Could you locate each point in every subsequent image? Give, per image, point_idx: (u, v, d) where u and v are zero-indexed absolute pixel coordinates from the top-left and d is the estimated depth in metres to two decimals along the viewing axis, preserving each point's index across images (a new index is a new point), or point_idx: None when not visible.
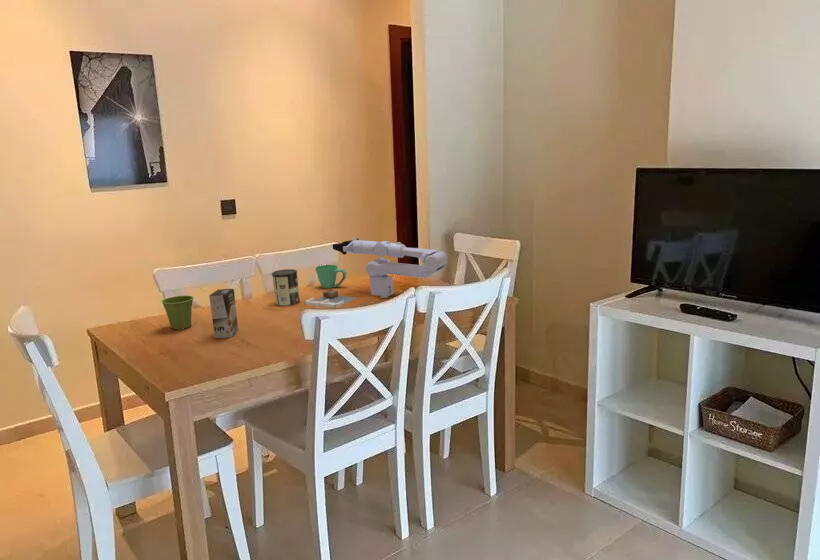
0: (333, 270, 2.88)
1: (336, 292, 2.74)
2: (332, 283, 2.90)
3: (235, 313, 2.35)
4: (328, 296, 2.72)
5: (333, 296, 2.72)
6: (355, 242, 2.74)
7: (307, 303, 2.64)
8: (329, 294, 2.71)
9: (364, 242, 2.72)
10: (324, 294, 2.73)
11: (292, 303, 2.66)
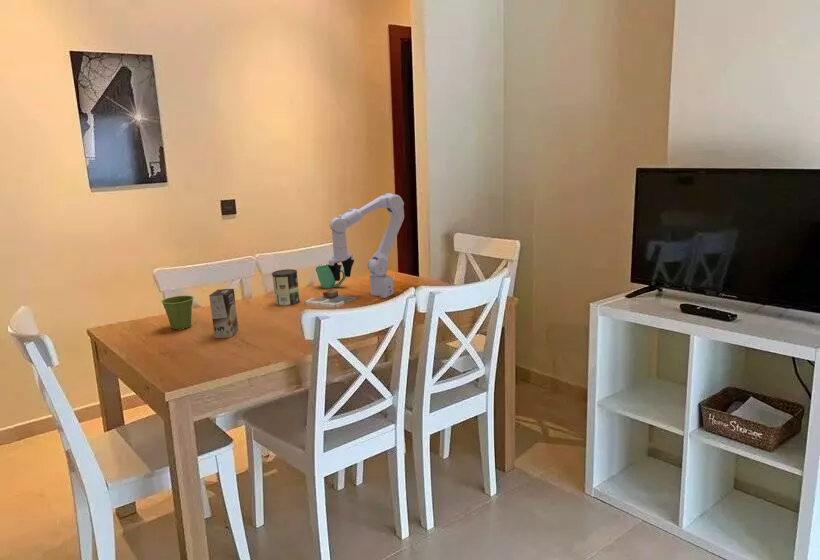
0: None
1: (336, 292, 2.74)
2: (332, 283, 2.90)
3: (235, 313, 2.35)
4: (328, 296, 2.72)
5: (333, 296, 2.72)
6: None
7: (307, 303, 2.64)
8: (329, 294, 2.71)
9: (334, 245, 2.63)
10: (324, 294, 2.73)
11: (292, 303, 2.66)
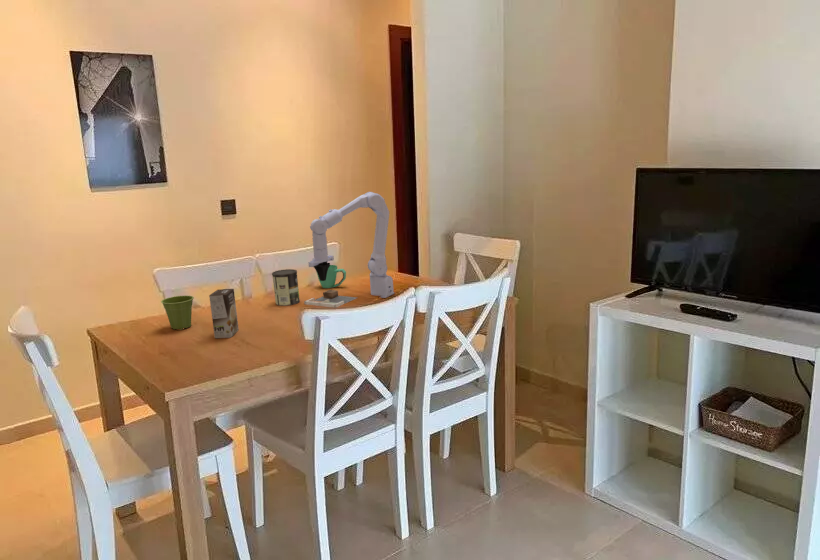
0: (333, 270, 2.88)
1: (336, 292, 2.74)
2: (332, 283, 2.90)
3: (235, 313, 2.35)
4: (328, 296, 2.72)
5: (333, 296, 2.72)
6: (314, 257, 2.64)
7: (307, 303, 2.64)
8: (329, 294, 2.71)
9: (315, 247, 2.61)
10: (324, 294, 2.73)
11: (292, 303, 2.66)
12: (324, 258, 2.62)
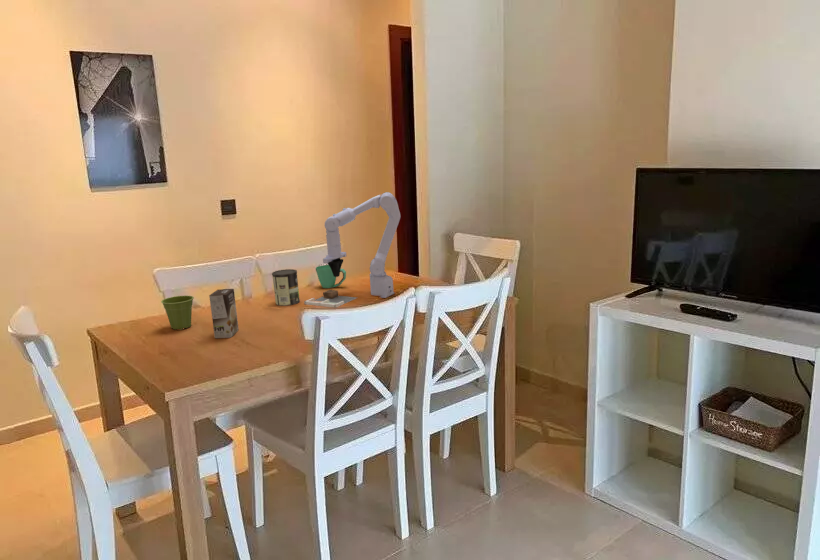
0: None
1: (336, 292, 2.74)
2: (332, 283, 2.90)
3: (235, 313, 2.35)
4: (328, 296, 2.72)
5: (333, 296, 2.72)
6: None
7: (307, 303, 2.64)
8: (329, 294, 2.71)
9: (327, 243, 2.69)
10: (324, 294, 2.73)
11: (292, 303, 2.66)
12: (338, 254, 2.69)
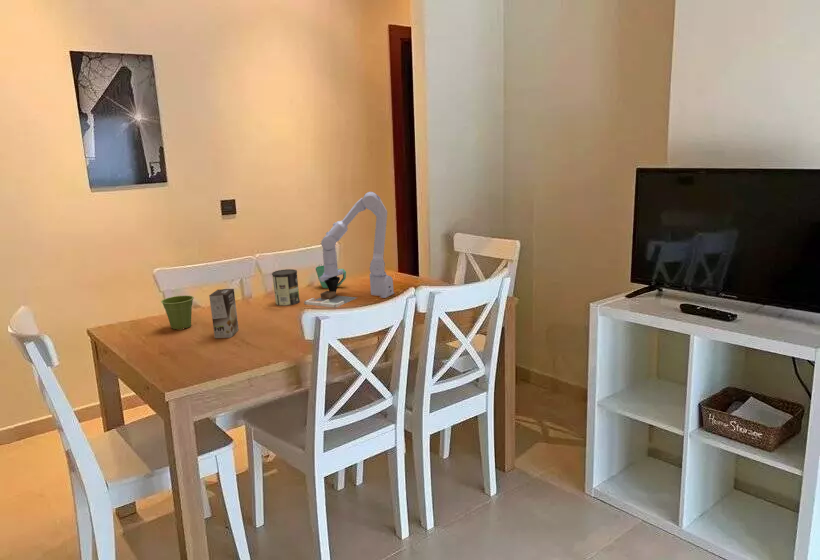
0: None
1: (334, 293, 2.72)
2: None
3: (235, 313, 2.35)
4: (326, 297, 2.71)
5: (330, 297, 2.71)
6: (324, 271, 2.73)
7: (307, 303, 2.64)
8: (327, 295, 2.70)
9: (324, 262, 2.71)
10: (322, 295, 2.71)
11: (292, 303, 2.66)
12: (334, 273, 2.71)
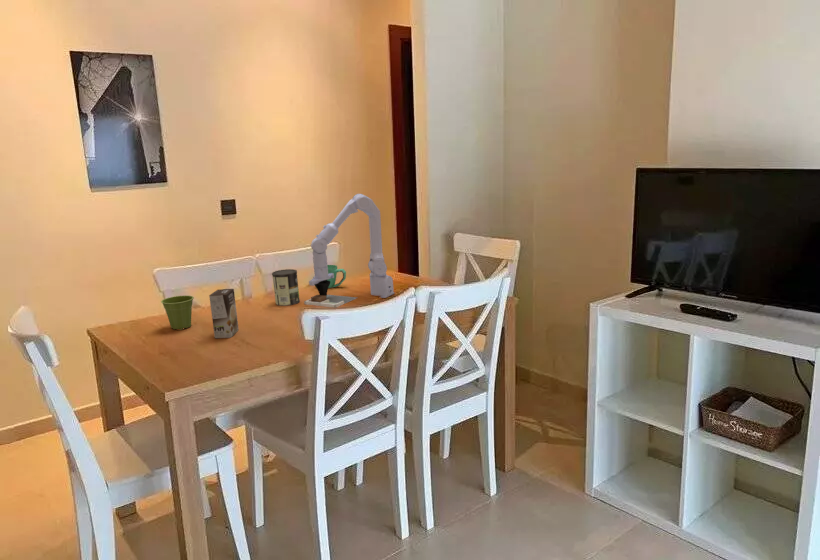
0: (333, 270, 2.88)
1: (324, 297, 2.67)
2: (332, 283, 2.90)
3: (235, 313, 2.35)
4: (316, 301, 2.65)
5: (321, 301, 2.65)
6: None
7: (307, 303, 2.64)
8: (317, 299, 2.64)
9: (315, 265, 2.65)
10: (312, 299, 2.66)
11: (292, 303, 2.66)
12: (324, 276, 2.65)
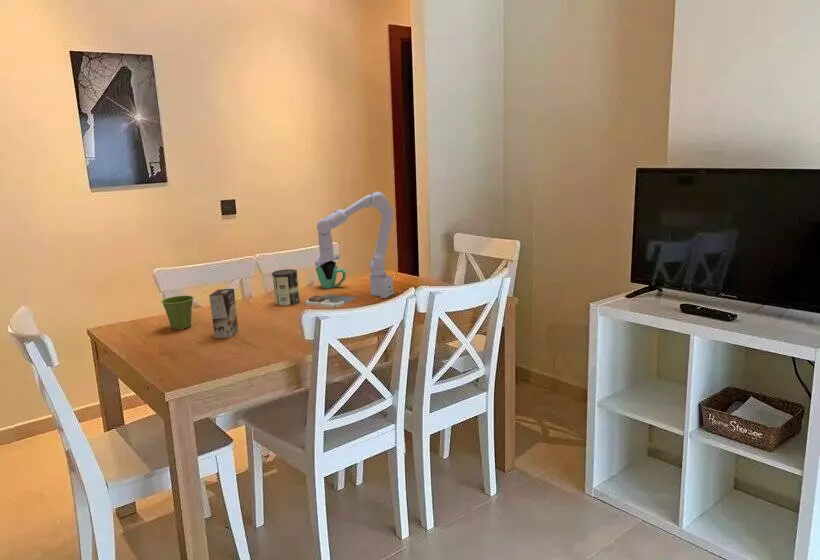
0: (333, 270, 2.88)
1: (322, 298, 2.66)
2: (332, 283, 2.90)
3: (235, 313, 2.35)
4: None
5: None
6: (320, 256, 2.69)
7: (307, 303, 2.64)
8: (315, 300, 2.63)
9: (320, 246, 2.67)
10: (310, 300, 2.65)
11: (292, 303, 2.66)
12: (330, 257, 2.68)
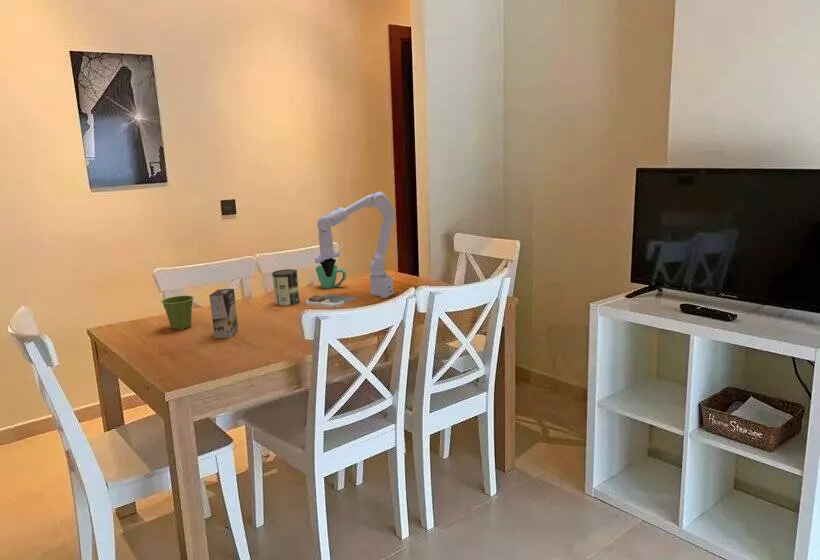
0: (333, 270, 2.88)
1: (322, 298, 2.66)
2: (332, 283, 2.90)
3: (235, 313, 2.35)
4: None
5: None
6: (320, 253, 2.69)
7: (307, 303, 2.64)
8: (315, 300, 2.63)
9: (320, 243, 2.67)
10: (310, 300, 2.65)
11: (292, 303, 2.66)
12: (330, 254, 2.68)
